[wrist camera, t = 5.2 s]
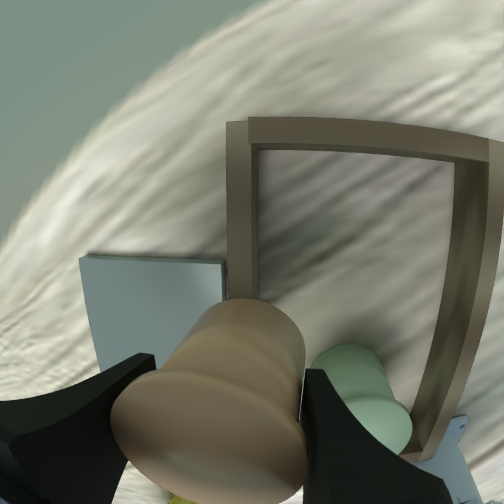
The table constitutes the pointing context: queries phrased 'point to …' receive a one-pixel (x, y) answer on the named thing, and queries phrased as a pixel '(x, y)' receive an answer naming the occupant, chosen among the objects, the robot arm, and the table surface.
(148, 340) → the slate slab
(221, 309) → the terracotta pot
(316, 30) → the table surface
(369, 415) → the green pot
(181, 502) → the plant pot
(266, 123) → the frame
